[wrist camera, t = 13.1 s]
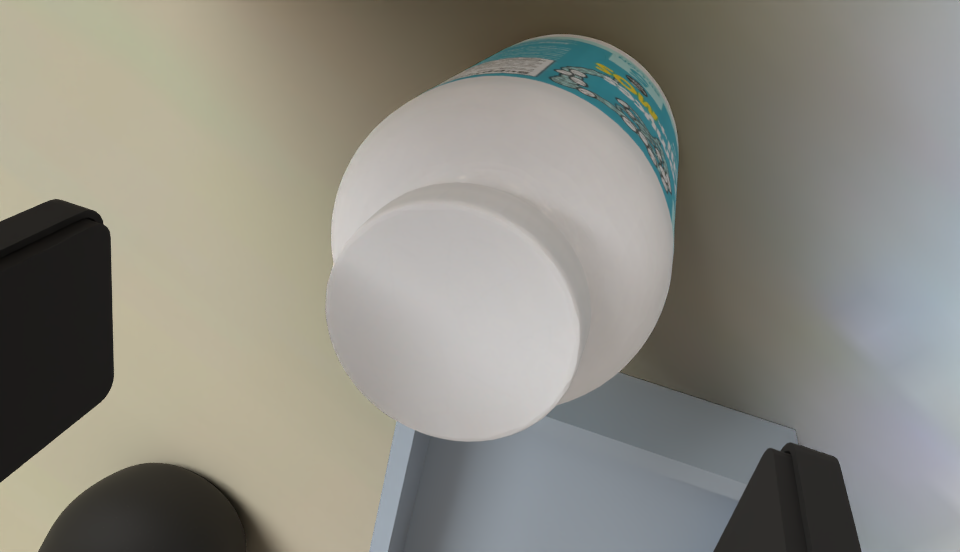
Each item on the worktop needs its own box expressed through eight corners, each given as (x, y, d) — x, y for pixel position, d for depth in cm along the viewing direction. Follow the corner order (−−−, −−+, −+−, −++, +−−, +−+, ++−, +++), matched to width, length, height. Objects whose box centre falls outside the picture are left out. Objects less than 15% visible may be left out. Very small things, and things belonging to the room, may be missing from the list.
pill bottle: (699, 229, 25) (706, 496, 13) (490, 267, 27) (336, 520, 16) (653, -2, 23) (610, 65, 11) (429, 62, 25) (188, 176, 13)
